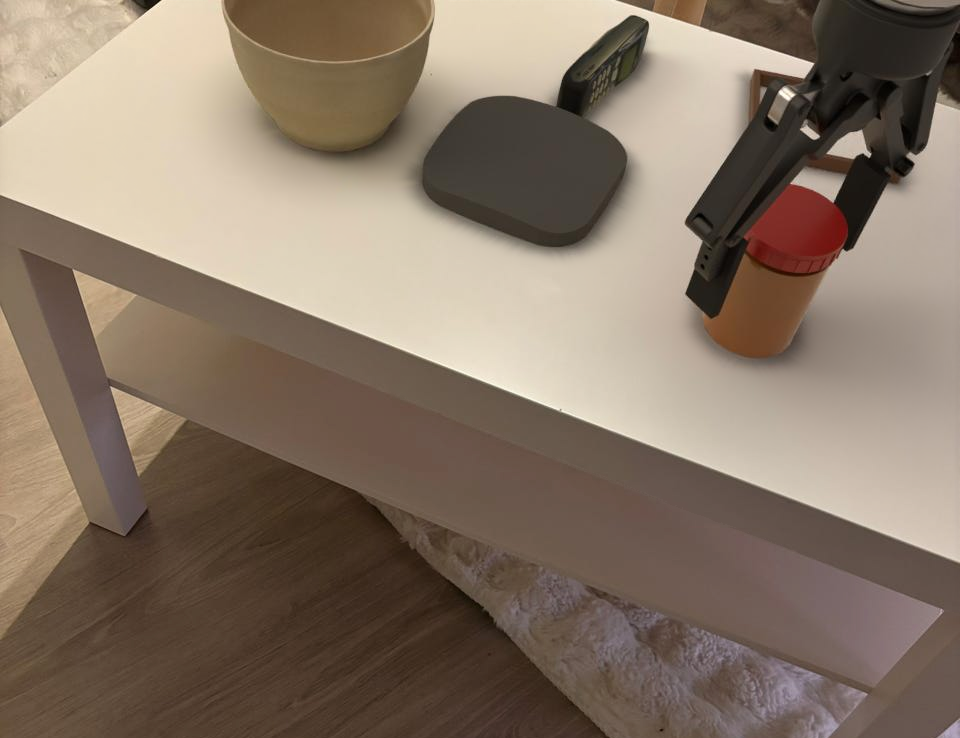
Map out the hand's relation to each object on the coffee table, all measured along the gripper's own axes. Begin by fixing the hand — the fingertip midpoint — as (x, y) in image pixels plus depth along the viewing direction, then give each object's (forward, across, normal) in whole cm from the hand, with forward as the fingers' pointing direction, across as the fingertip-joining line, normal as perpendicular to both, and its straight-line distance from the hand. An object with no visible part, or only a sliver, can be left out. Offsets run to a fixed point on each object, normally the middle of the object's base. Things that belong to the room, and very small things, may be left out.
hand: (771, 271), depth 73 cm
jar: (+6, 0, 0) cm, 6 cm away
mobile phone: (+6, -9, -29) cm, 31 cm away
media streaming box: (+6, +5, -22) cm, 23 cm away
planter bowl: (+6, +15, -36) cm, 39 cm away
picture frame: (+6, -23, -14) cm, 27 cm away
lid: (-4, 0, 0) cm, 4 cm away
